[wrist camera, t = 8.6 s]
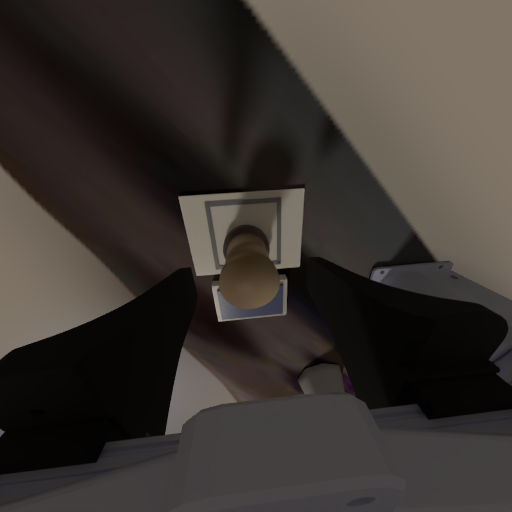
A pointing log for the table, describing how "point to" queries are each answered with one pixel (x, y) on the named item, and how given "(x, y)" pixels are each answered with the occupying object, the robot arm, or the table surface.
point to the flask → (321, 379)
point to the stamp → (248, 269)
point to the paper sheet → (243, 213)
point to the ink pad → (234, 313)
